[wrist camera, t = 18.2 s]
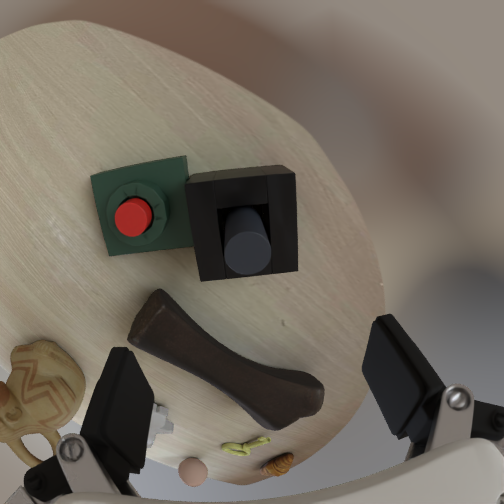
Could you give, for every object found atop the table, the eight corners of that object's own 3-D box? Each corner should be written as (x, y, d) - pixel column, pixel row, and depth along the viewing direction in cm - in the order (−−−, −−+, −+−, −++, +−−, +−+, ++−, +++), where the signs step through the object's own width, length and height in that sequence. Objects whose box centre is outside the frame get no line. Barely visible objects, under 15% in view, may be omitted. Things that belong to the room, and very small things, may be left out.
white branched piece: (182, 427, 39) (154, 457, 42) (183, 406, 43) (156, 439, 46) (130, 407, 36) (111, 441, 39) (135, 386, 41) (115, 423, 44)
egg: (196, 465, 55) (195, 491, 47) (173, 457, 52) (171, 484, 45) (213, 459, 53) (214, 487, 45) (190, 451, 50) (189, 480, 43)
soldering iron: (228, 226, 29) (227, 277, 19) (224, 196, 28) (221, 234, 18) (258, 223, 29) (272, 272, 19) (255, 193, 28) (270, 229, 18)
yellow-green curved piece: (271, 432, 48) (273, 441, 46) (245, 453, 52) (245, 460, 50) (240, 427, 46) (240, 436, 44) (216, 448, 50) (216, 456, 48)
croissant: (272, 469, 58) (274, 483, 54) (251, 467, 57) (252, 482, 52) (302, 452, 54) (305, 468, 49) (279, 450, 52) (282, 467, 48)
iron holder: (205, 254, 30) (200, 282, 25) (193, 173, 27) (183, 184, 21) (286, 245, 31) (298, 271, 25) (282, 164, 27) (295, 172, 22)
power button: (125, 232, 25) (119, 238, 23) (118, 200, 24) (111, 205, 22) (154, 228, 25) (150, 234, 23) (148, 195, 24) (143, 200, 22)
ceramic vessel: (55, 316, 33) (-21, 446, 10) (117, 398, 41) (89, 515, 18) (4, 327, 33) (-57, 421, 11) (59, 397, 41) (26, 489, 19)
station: (115, 248, 29) (102, 263, 26) (99, 172, 26) (81, 179, 22) (198, 238, 30) (193, 253, 26) (186, 155, 26) (179, 158, 22)
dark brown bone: (308, 372, 43) (167, 270, 37) (343, 395, 33) (168, 273, 27) (269, 421, 40) (123, 330, 34) (296, 454, 30) (109, 354, 24)
